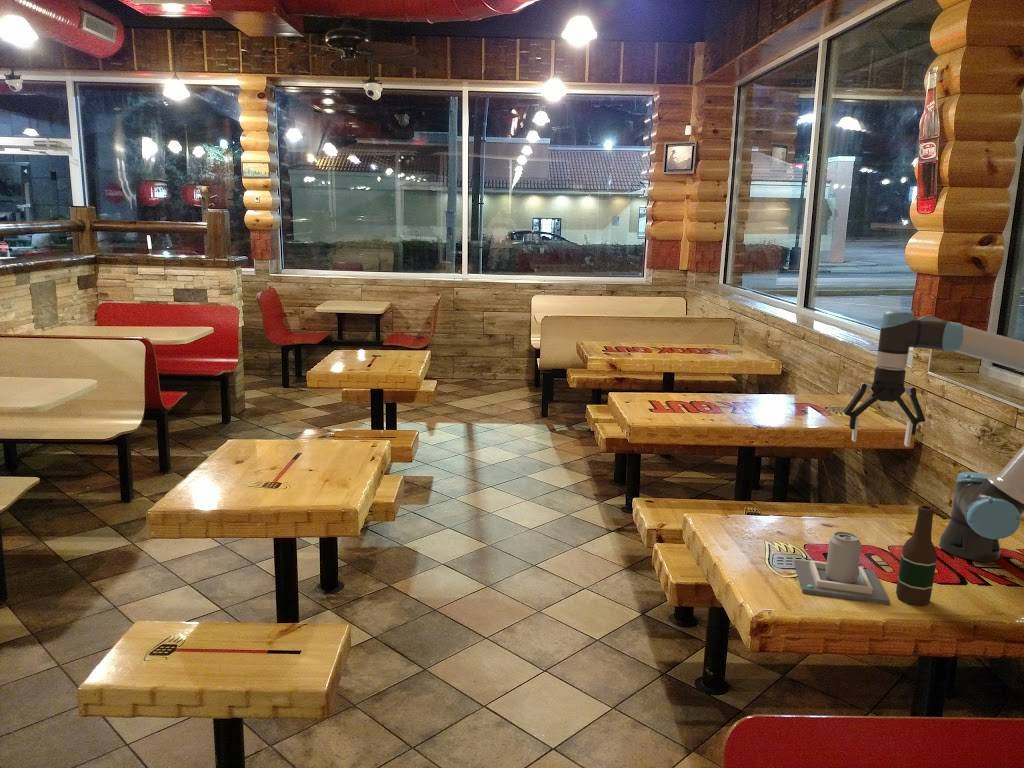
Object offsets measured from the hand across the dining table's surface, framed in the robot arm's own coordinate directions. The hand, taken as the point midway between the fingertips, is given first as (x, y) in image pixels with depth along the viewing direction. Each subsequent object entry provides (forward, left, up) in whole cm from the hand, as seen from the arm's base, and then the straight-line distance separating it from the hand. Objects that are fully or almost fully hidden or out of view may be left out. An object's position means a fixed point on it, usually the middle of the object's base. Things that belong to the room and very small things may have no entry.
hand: (879, 443), depth 214 cm
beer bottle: (-5, +29, -32) cm, 43 cm away
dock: (+11, +25, -32) cm, 42 cm away
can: (+11, +25, -31) cm, 41 cm away
